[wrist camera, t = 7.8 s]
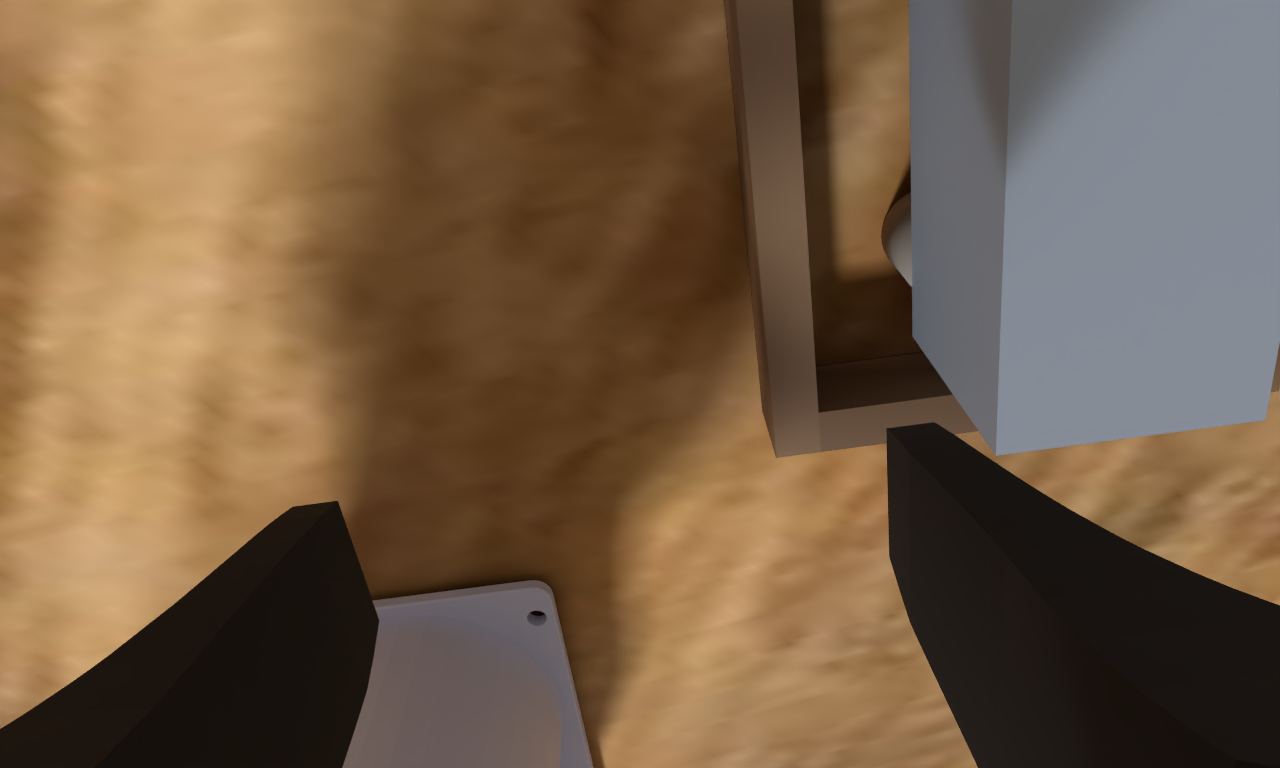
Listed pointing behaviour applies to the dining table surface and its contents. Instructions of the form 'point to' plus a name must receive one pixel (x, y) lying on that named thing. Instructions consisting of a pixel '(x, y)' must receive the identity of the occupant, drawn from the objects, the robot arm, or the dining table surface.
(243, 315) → the dining table surface
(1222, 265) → the blue-grey rectangular block
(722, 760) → the dining table surface
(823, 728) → the dining table surface
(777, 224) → the peg frame
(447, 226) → the dining table surface
